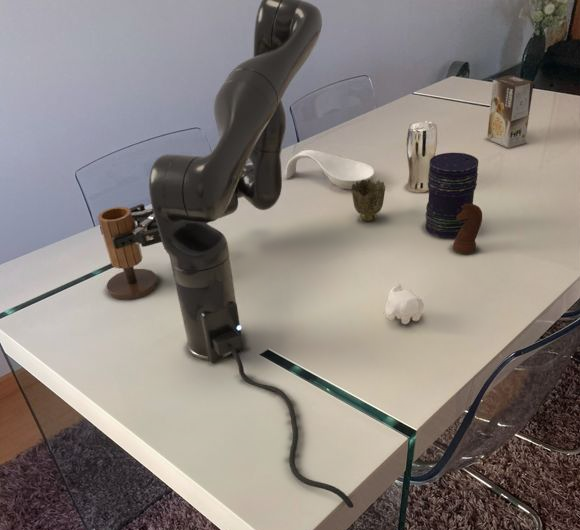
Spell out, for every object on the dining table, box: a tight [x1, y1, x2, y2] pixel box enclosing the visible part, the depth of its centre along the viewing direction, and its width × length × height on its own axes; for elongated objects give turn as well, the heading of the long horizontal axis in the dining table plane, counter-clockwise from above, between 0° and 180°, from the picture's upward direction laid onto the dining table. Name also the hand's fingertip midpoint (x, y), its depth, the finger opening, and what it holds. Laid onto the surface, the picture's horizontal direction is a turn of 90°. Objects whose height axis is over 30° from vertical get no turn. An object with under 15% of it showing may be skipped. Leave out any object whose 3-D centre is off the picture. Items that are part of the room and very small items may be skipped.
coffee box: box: [486, 74, 535, 149], centre depth 171 cm, size 9×6×16 cm
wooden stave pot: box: [97, 206, 143, 270], centre depth 122 cm, size 6×6×10 cm
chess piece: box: [452, 203, 483, 256], centre depth 128 cm, size 5×5×10 cm
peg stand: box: [106, 266, 159, 301], centre depth 124 cm, size 10×10×14 cm
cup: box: [351, 179, 386, 222], centre depth 142 cm, size 8×7×8 cm
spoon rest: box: [284, 149, 376, 190], centre depth 161 cm, size 24×12×7 cm, turn 62°
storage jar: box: [425, 152, 479, 240], centre depth 134 cm, size 10×10×15 cm
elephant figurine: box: [383, 284, 427, 325], centre depth 111 cm, size 7×8×6 cm
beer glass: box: [406, 120, 438, 194], centre depth 152 cm, size 7×7×15 cm
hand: (107, 237), depth 121 cm, fingers closed on wooden stave pot, 6 cm apart
